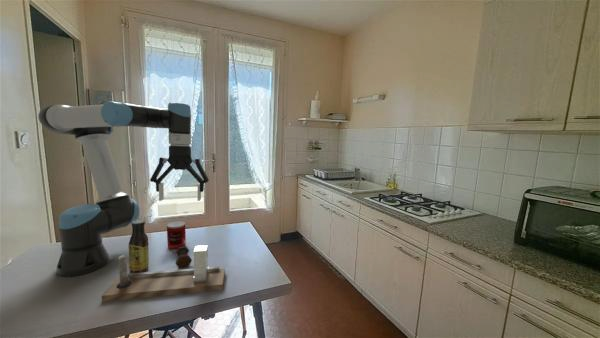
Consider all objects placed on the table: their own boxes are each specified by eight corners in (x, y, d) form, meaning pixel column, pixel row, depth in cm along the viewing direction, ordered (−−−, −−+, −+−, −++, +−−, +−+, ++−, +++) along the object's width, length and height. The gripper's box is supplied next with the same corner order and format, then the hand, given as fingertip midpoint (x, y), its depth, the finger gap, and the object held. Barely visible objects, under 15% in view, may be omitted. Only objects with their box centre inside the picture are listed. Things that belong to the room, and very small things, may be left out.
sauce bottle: (125, 273, 90) (122, 222, 88) (141, 265, 96) (139, 217, 93) (137, 277, 88) (135, 225, 85) (153, 268, 94) (151, 220, 91)
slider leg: (193, 282, 82) (192, 252, 81) (196, 273, 88) (196, 244, 86) (205, 281, 83) (205, 251, 82) (208, 272, 89) (208, 244, 87)
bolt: (183, 255, 109) (186, 270, 96) (172, 252, 106) (173, 267, 93) (190, 243, 110) (193, 257, 96) (179, 240, 107) (181, 253, 94)
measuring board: (102, 301, 75) (99, 265, 73) (118, 282, 84) (116, 250, 83) (222, 289, 83) (222, 257, 81) (224, 273, 92) (224, 244, 91)
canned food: (180, 241, 118) (179, 219, 117) (189, 245, 114) (188, 223, 112) (164, 246, 112) (163, 224, 111) (172, 251, 108) (172, 228, 106)
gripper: (138, 143, 84) (140, 202, 87) (213, 147, 89) (213, 202, 92) (147, 143, 91) (149, 197, 94) (216, 146, 96) (215, 197, 99)
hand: (180, 199), depth 93 cm, fingers open, 13 cm apart
